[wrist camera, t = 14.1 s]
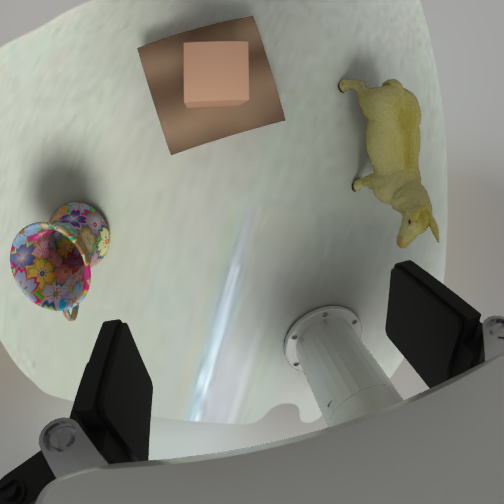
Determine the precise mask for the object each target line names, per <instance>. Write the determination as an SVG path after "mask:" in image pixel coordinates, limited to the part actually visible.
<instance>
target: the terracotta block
mask: <svg viewBox="0 0 504 504" xmlns="http://www.w3.org/2000/svg"><path fill="white" fill-rule="evenodd" d="M248 100H249V58H248V42H247V41H213V42H189V43H184V103H185V105H186V107H187V108H197V107H219V106H239V105H241V104H242V103H244V102H246V101H248Z"/></svg>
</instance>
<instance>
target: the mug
mask: <svg viewBox="0 0 504 504" xmlns="http://www.w3.org/2000/svg"><path fill="white" fill-rule="evenodd" d="M109 240H110V237H109V230H108V226H107V224H106V222H105V220H104V218H103V217H102V215H101V214H100V213H99V212H98V211H97V210H96V209H94V208H93V207H91V206H90V205H87V204H85V203H80V202H72V203H68V204H65V205H63V206H61V207H60V208H59V209H57V210H56V212H55V213H54V214H53V216H52V218H51V220H50V223H48V222H37V223H33V224H30V225H28V226H26V227H25V228H23V229H22V230H21V231H20V232H19V233H18V235H17V236H16V238H15V239H14V242H13V244H12V248H11V254H10V262H11V269H12V273H13V276H14V278H15V280H16V282H17V284H18V286H19V287H20V289H21V290H22V292H23V293H24V294H25V295H26V296H27V297H28V298H29V299H30V300H31V301H33V302H34V303H36V304H37V305H39V306H41V307H43V308H46V309H49V310H55V311H62V310H63V313H64V316H65V318H66V319H67V320H68V321H74V320H75V319H76V317H77V314H78V308H79V303H80V302H81V301H82V300H83V299H84V297H85V296H86V294H87V292H88V289H89V286H90V280H91V271H90V267H92V266H94V265H96V264H98V263H99V262H100V261H101V260H102V259H103V258H104V256H105V255H106V253H107V250H108V247H109ZM70 308H73V310H72V314H71V315H70V313H69V309H70Z"/></svg>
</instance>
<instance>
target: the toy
mask: <svg viewBox="0 0 504 504" xmlns="http://www.w3.org/2000/svg"><path fill="white" fill-rule="evenodd" d="M382 85H383V86H382V87H375V88H370V89H368V88H366V86H365V82H364V81H358V80H350V79H348V80H345V79H342V80H341V82H340V83H339V85H338V88H339V90H340V92H342V93H344V92H345V91H346V90H347V89H354V90H355V91H356V93H357V95H358V100H359V104H360V106H361V108H362V110H363V113H364V115H365V116H366V117H367V131H366V149H367V153H368V156H369V158H370V160H371V163H372V165H373V168H374V173H372V174H370V175H368V176H366V177H364V178H359V179H357V180H355V181H354V182H353V184H352V190H353V191H354V192H357V191H359V190H360V189H361V187H363V186H367V187H368V188H370V189H371V190H373V193H374V195H375V196H376V197H377V198H378V199H379V200H380V201H382V202H384V203H387V204H389V205H391V206H392V207H393V209H394V210H396V211H398V212H399V213H400V214H401V215H402V216H403V219H402V223H401V227H400V230H399V234H398V236H397V244H398V246H399V247H400V248H405V247H406V246H407V245H408V244H409V243H410V242H411V241H412V240H413V239H414V238H415V237H416V236H417V235H418V234H420V233H423V232H424V231H426V230H427V228H428V226H430V228H431V230H432V232H433V234H434V236H435V238H436V240H437V242H439V231H438V227H437V224H436V222H435V219H434V218H433V216H432V206H431V203H430V199H429V196H428V194H427V191H426V190H425V188H424V186H423V185H422V184H421V178H420V172H419V169H418V156H419V151H420V129H419V124H420V121H421V111H420V107H419V103H418V101H417V98H416V97H415V95H414V94H413V93H411V92H410V91H408V90H407V89H405V88H403V86H402V84H401V83H400V82H398V81H397V80H395V79H390V80H389V79H388V80H387V81H385V82H384V83H382Z"/></svg>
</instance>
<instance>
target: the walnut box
mask: <svg viewBox="0 0 504 504" xmlns="http://www.w3.org/2000/svg"><path fill="white" fill-rule="evenodd" d="M213 41H247V42H248V58H249V100H248V101H246V102H244V103H242V104H241V105H239V106H219V107H197V108H187V107H186V105H185V103H184V43H189V42H213ZM137 49H138V52H139V56H140V59H141V62H142V66H143V69H144V72H145V76H146V79H147V82H148V86H149V89H150V92H151V95H152V98H153V102H154V105H155V108H156V111H157V114H158V117H159V120H160V123H161V127H162V130H163V133H164V136H165V139H166V142H167V145H168V148H169V151H170V154H171V155H173V154H176V153H179V152H182V151H184V150H187V149H190V148H193V147H196V146H199V145H202V144H205V143H208V142H211V141H214V140H218V139H221V138H224V137H227V136H231V135H234V134H237V133H241V132H244V131H248V130H251V129H255V128H258V127H262V126H265V125H269V124H273V123H277V122H281V121H285V117H284V113H283V110H282V106H281V103H280V99H279V96H278V92H277V89H276V86H275V82H274V79H273V76H272V72H271V69H270V66H269V63H268V60H267V56H266V53H265V50H264V47H263V44H262V41H261V38H260V35H259V32H258V29H257V26H256V23H255V20H254V17H253V16H250V17H245V18H240V19H235V20H230V21H226V22H221V23H217V24H213V25H209V26H205V27H201V28H198V29H194V30H191V31H187V32H184V33H180V34H177V35H174V36H171V37H168V38H165V39H162V40H159V41H156V42H153V43H150V44H147V45H145V46H142V47H139V48H137Z"/></svg>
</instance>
